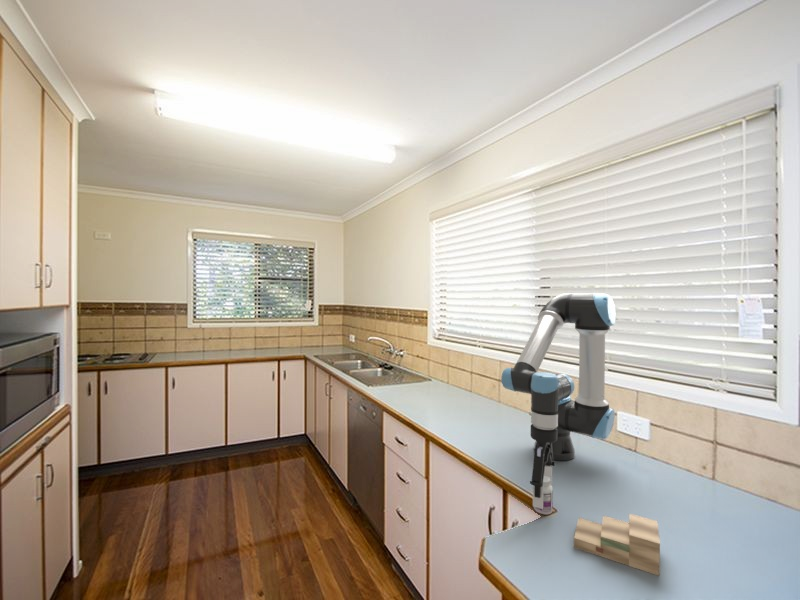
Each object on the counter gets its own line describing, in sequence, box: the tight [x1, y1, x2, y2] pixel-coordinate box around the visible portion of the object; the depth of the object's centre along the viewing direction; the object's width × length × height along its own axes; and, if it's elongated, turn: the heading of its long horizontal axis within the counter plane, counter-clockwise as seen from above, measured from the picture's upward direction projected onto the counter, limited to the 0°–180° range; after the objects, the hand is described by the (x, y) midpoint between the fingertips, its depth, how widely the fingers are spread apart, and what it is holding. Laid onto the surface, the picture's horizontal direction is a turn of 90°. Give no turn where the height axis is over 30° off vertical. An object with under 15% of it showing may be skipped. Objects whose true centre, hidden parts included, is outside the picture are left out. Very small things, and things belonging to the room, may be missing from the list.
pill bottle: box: [533, 476, 554, 516], centre depth 112 cm, size 5×5×10 cm
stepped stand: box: [573, 513, 661, 577], centre depth 95 cm, size 10×18×8 cm, turn 58°
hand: (542, 496), depth 112 cm, fingers open, 13 cm apart
